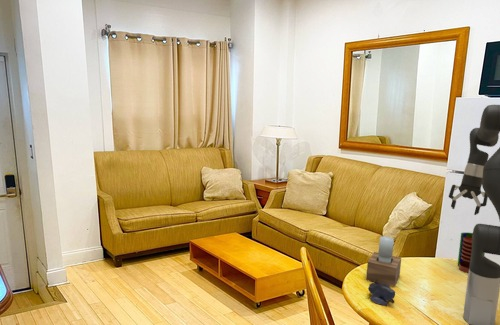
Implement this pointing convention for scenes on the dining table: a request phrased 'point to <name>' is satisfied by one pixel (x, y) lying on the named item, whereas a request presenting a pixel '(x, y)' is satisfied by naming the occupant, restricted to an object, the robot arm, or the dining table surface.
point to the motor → (465, 252)
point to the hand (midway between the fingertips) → (464, 211)
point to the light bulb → (385, 249)
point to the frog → (381, 293)
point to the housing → (383, 270)
